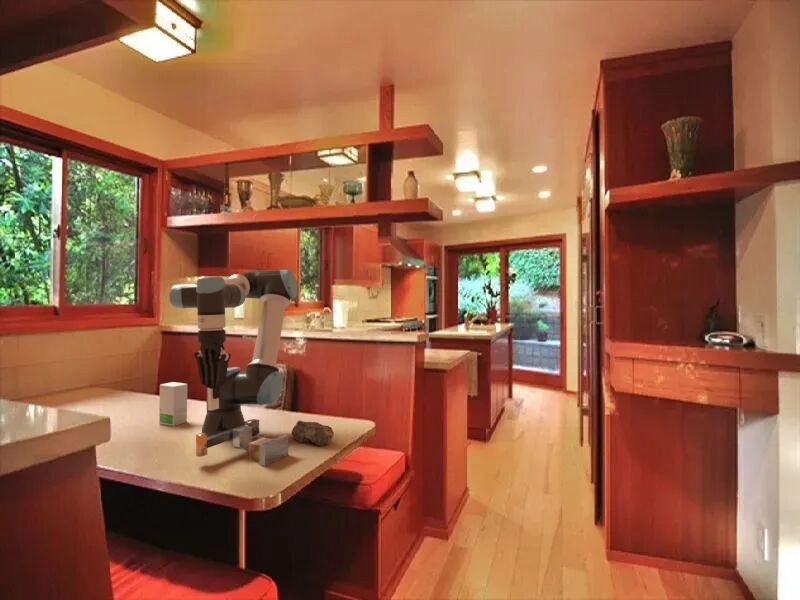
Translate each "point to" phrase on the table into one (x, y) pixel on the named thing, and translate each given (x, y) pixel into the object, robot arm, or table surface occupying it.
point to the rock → (312, 433)
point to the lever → (227, 437)
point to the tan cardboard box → (256, 449)
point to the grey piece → (271, 449)
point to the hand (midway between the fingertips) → (213, 409)
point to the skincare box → (173, 403)
